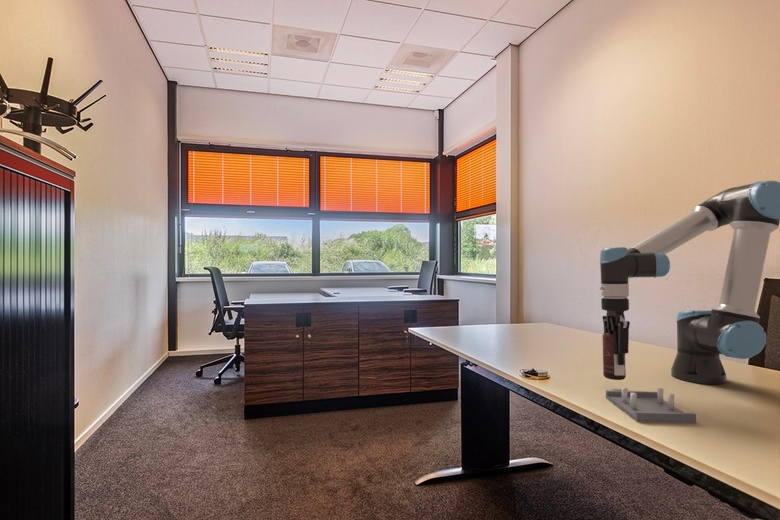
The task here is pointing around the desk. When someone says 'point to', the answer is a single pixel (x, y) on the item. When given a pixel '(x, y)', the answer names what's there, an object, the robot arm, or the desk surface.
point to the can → (610, 357)
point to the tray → (649, 406)
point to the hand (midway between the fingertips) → (616, 373)
